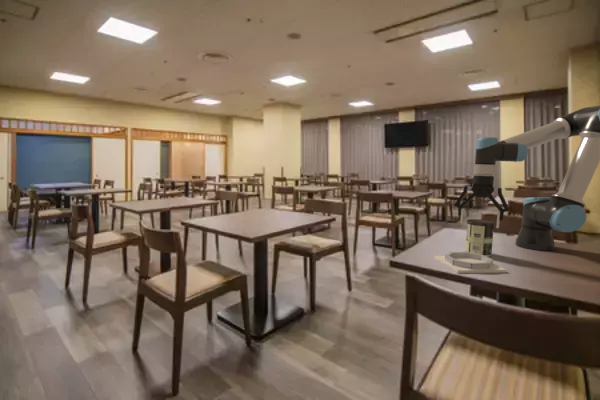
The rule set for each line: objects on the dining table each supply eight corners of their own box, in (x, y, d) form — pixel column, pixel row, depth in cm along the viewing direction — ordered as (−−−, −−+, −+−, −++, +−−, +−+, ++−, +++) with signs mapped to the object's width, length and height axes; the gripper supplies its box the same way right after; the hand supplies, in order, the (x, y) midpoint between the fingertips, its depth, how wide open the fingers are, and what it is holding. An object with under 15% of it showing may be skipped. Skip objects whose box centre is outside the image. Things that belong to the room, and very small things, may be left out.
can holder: (477, 257, 140) (477, 250, 140) (506, 272, 123) (506, 264, 122) (434, 258, 139) (434, 251, 139) (457, 273, 121) (458, 264, 121)
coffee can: (487, 251, 151) (489, 219, 149) (495, 258, 141) (498, 224, 139) (461, 249, 153) (464, 218, 151) (468, 256, 143) (470, 222, 141)
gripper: (520, 176, 138) (514, 228, 141) (453, 173, 153) (449, 220, 155) (518, 177, 132) (512, 231, 135) (449, 173, 147) (445, 222, 149)
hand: (479, 225), depth 145 cm, fingers open, 13 cm apart
